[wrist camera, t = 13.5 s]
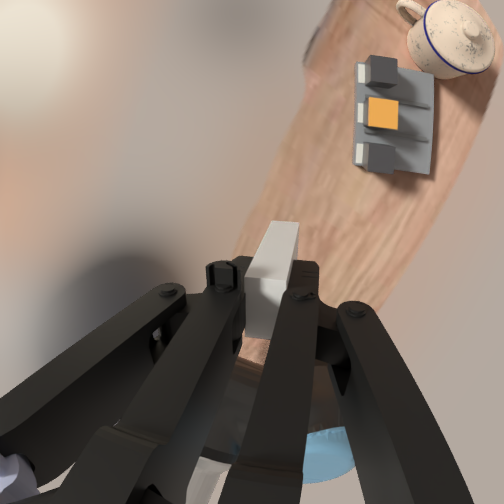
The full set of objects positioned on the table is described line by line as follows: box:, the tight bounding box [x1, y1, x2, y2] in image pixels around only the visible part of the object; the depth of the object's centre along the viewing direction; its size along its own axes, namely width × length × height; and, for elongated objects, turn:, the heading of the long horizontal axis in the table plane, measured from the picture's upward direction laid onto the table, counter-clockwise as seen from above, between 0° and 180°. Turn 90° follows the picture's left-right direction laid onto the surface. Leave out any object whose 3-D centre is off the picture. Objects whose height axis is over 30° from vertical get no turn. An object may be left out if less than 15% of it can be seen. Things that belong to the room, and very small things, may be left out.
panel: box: [352, 55, 434, 174], centre depth 31 cm, size 13×10×6 cm
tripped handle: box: [363, 97, 398, 130], centre depth 30 cm, size 3×3×5 cm
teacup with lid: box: [396, 0, 495, 79], centre depth 23 cm, size 12×9×12 cm
